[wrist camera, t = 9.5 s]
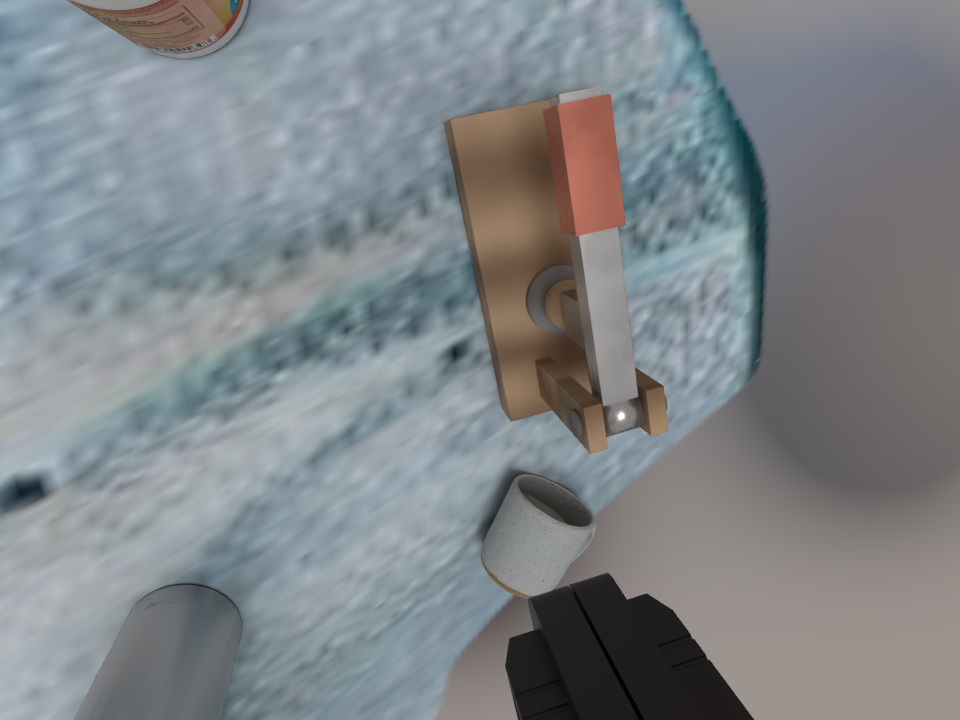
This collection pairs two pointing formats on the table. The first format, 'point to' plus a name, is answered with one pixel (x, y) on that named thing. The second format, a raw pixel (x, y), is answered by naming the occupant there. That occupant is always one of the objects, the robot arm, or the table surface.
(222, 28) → the fruit juice
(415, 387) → the table surface
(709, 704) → the robot arm
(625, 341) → the lever
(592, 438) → the base
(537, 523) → the ceramic mug
